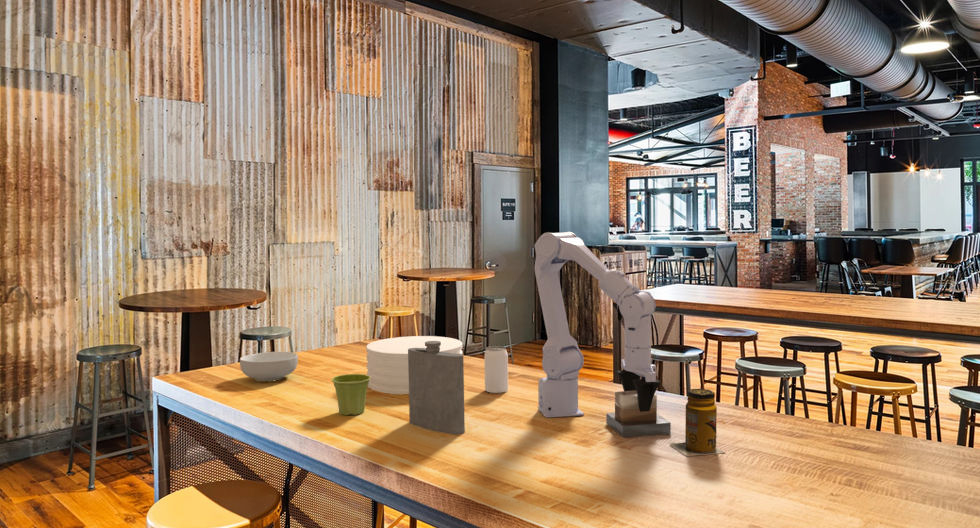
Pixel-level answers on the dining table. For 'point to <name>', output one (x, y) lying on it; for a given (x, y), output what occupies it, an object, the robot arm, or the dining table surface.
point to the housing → (633, 407)
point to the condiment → (699, 424)
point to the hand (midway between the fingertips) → (637, 406)
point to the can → (496, 369)
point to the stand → (639, 426)
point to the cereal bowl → (269, 365)
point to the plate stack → (399, 360)
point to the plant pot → (351, 392)
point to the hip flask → (436, 389)
